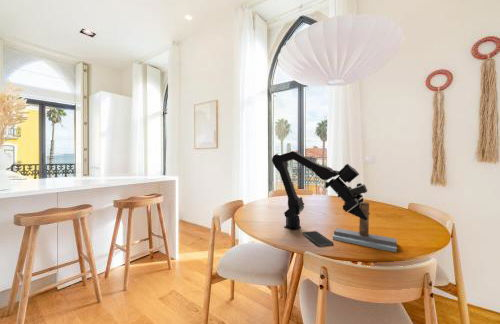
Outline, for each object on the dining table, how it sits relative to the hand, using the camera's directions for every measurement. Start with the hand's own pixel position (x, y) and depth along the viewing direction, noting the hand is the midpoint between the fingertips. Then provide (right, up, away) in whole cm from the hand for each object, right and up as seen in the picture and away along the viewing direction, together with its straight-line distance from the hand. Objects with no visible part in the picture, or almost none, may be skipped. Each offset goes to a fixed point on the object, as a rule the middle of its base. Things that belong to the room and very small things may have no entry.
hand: (367, 217), depth 97 cm
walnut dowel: (-1, -8, +1) cm, 8 cm away
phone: (-21, -11, +4) cm, 24 cm away
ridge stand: (-1, -11, +1) cm, 11 cm away
